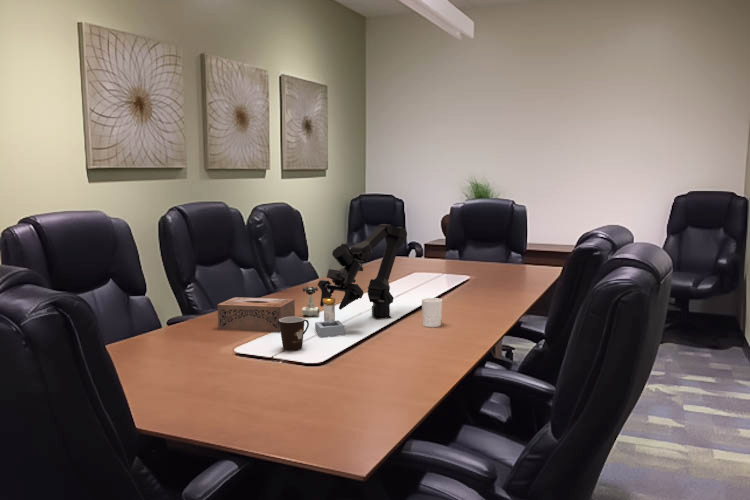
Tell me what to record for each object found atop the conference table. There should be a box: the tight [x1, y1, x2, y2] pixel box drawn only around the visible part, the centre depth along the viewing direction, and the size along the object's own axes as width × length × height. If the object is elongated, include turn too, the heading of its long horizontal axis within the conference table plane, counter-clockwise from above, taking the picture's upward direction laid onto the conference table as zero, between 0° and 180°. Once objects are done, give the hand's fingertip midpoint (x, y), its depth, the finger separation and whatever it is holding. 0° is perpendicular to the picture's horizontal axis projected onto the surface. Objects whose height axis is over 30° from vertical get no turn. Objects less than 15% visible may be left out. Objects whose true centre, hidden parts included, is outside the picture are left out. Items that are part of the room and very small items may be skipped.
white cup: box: [421, 297, 443, 328], centre depth 233 cm, size 8×8×10 cm
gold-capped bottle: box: [323, 297, 336, 327], centre depth 222 cm, size 5×5×13 cm
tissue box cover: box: [216, 296, 296, 333], centre depth 235 cm, size 26×14×10 cm, turn 77°
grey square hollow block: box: [314, 319, 346, 338], centre depth 223 cm, size 9×9×4 cm
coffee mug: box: [279, 316, 310, 352], centre depth 204 cm, size 12×9×10 cm
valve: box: [301, 286, 320, 317], centre depth 251 cm, size 7×7×12 cm
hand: (330, 307), depth 222 cm, fingers open, 9 cm apart
